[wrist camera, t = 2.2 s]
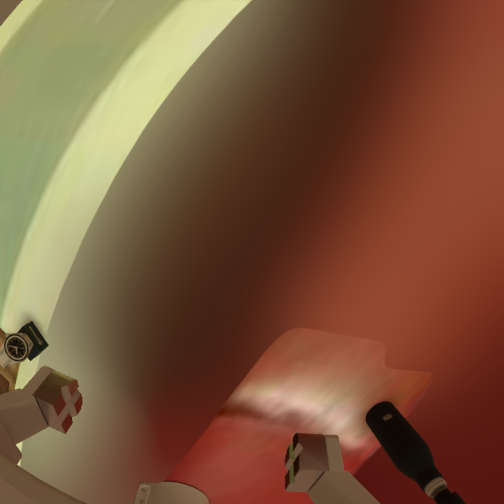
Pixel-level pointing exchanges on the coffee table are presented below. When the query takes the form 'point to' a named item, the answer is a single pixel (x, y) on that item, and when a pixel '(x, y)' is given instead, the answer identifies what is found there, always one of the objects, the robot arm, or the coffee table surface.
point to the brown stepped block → (4, 384)
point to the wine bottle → (409, 452)
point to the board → (9, 367)
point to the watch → (22, 345)
